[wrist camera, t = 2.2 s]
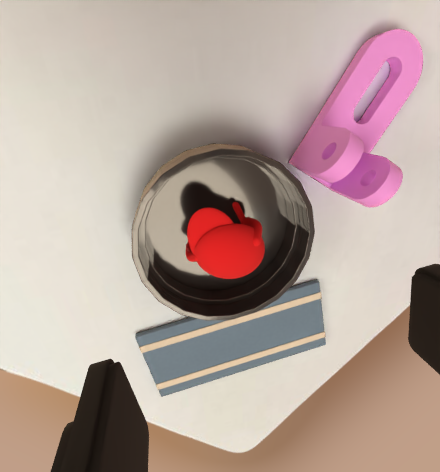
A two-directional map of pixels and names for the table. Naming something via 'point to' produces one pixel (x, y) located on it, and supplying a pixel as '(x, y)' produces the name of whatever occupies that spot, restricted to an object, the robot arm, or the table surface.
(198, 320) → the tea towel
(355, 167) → the bracket
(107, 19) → the table surface
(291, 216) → the bowl
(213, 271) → the red rounded lobed piece
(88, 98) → the table surface
